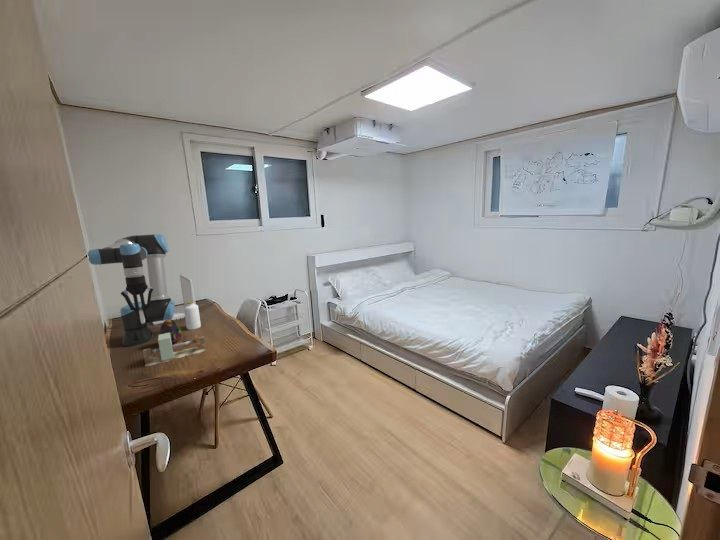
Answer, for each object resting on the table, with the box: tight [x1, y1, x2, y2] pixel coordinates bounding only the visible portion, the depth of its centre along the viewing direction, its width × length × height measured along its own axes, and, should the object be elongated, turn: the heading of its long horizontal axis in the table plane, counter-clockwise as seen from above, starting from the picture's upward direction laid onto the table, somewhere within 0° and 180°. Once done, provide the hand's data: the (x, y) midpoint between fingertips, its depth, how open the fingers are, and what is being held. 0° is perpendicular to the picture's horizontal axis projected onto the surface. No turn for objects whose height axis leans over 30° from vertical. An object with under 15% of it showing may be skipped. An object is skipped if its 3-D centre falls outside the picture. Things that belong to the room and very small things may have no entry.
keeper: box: [157, 333, 174, 361], centre depth 150 cm, size 5×9×11 cm, turn 33°
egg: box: [159, 319, 183, 345], centre depth 167 cm, size 11×11×15 cm
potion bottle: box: [184, 301, 202, 331], centre depth 191 cm, size 8×8×18 cm
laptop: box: [151, 273, 197, 326], centre depth 221 cm, size 34×28×28 cm
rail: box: [142, 333, 207, 367], centre depth 153 cm, size 27×9×8 cm, turn 123°
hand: (143, 322), depth 143 cm, fingers closed
